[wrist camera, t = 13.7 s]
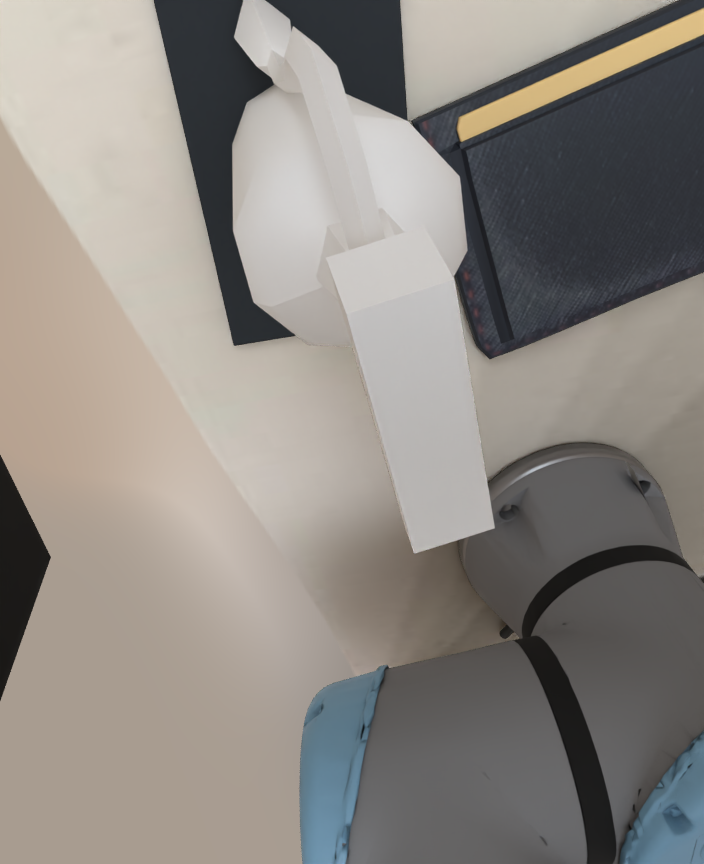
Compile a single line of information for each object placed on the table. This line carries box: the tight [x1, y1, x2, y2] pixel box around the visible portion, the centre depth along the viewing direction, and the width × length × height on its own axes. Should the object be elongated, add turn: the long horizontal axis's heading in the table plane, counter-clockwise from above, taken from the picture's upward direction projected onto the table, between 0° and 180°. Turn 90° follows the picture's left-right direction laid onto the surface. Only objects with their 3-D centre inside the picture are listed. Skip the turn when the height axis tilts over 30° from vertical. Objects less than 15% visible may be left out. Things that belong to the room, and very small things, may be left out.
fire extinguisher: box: [232, 0, 495, 554], centre depth 23 cm, size 7×12×25 cm, turn 13°
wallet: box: [412, 0, 704, 359], centre depth 36 cm, size 20×2×15 cm
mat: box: [154, 0, 407, 346], centre depth 33 cm, size 22×11×1 cm, turn 7°
